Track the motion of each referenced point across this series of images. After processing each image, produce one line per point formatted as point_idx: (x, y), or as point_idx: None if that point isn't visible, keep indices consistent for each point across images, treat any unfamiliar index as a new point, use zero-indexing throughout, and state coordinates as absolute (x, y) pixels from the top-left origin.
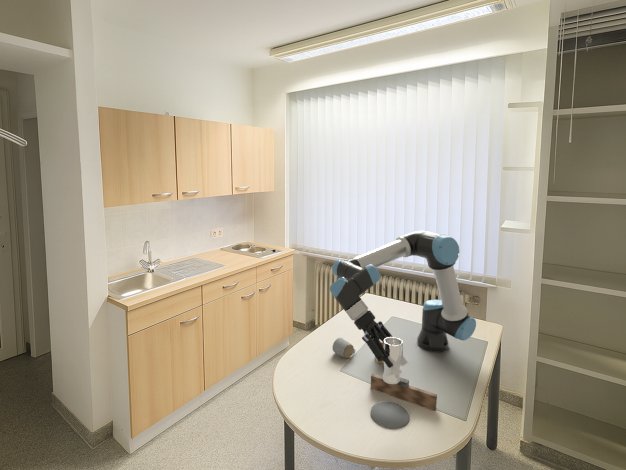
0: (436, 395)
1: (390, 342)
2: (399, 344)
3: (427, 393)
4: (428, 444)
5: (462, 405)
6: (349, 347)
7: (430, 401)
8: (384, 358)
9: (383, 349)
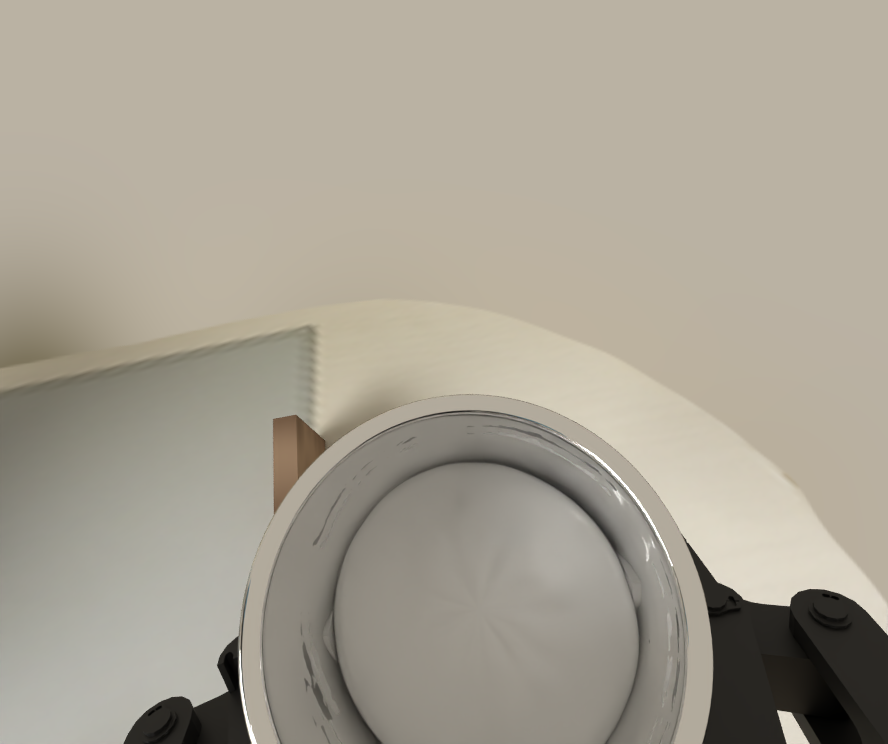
0: (283, 418)
1: None
2: (310, 557)
3: (293, 461)
4: (546, 371)
5: (219, 370)
6: None
7: (311, 452)
8: (775, 606)
9: (729, 722)
